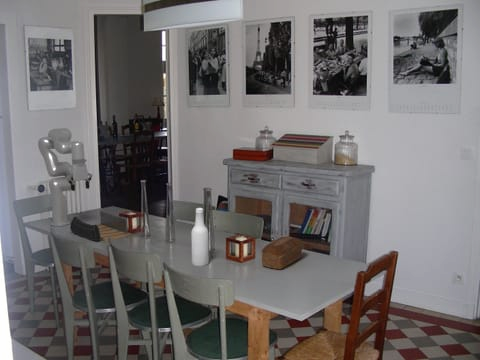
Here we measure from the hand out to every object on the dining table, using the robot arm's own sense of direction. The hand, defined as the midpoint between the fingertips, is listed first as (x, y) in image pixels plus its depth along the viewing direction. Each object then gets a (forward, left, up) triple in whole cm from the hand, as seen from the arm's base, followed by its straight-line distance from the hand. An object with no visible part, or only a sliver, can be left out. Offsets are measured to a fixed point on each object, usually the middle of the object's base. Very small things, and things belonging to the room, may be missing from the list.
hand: (80, 189), depth 337 cm
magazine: (+6, -2, -29) cm, 30 cm away
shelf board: (+6, +11, -29) cm, 32 cm away
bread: (+123, +49, -29) cm, 135 cm away
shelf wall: (+6, +19, -28) cm, 34 cm away
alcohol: (+94, +16, -29) cm, 99 cm away
